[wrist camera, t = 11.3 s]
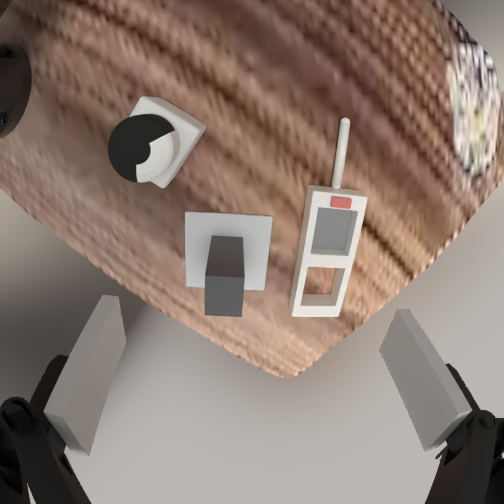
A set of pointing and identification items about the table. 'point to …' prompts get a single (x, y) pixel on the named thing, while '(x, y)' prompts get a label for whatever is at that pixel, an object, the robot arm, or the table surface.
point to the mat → (232, 225)
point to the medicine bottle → (153, 142)
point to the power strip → (328, 238)
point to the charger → (225, 277)
